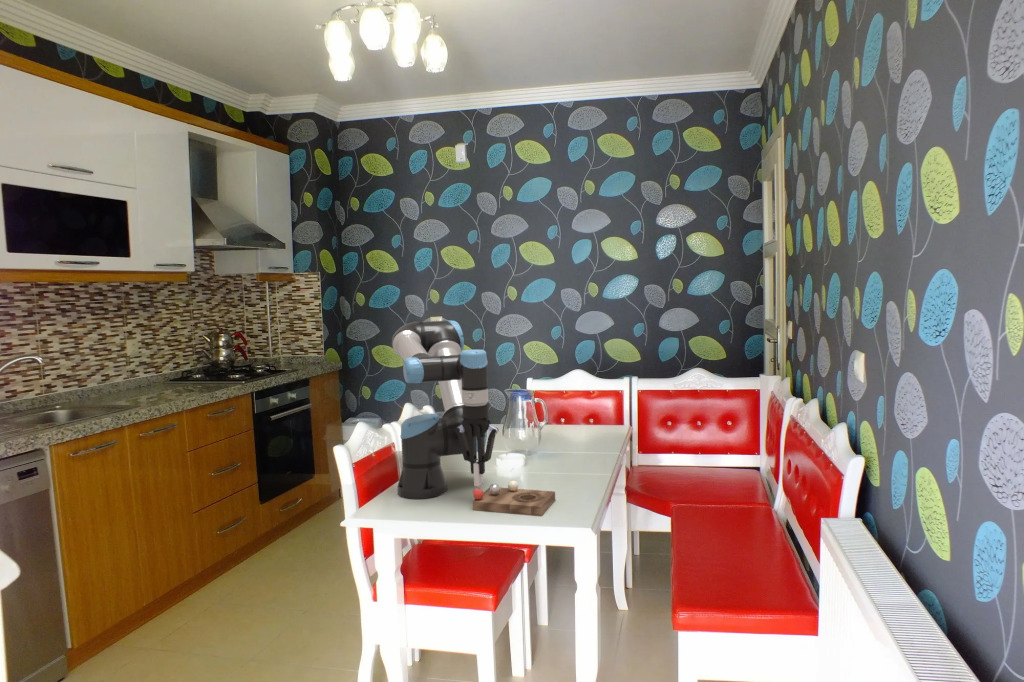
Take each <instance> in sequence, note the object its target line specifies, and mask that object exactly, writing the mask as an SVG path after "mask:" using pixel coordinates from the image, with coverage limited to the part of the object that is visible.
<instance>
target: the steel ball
mask: <svg viewBox="0 0 1024 682" xmlns="http://www.w3.org/2000/svg"><path fill="white" fill-rule="evenodd" d="M488 488H489V492H490V493H491V494H492V495H497V494H498V493H499V492H500V488H501V487H500V486H499V484H497V483H491V485H489V487H488Z"/></svg>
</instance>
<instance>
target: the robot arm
mask: <svg viewBox="0 0 1024 682" xmlns="http://www.w3.org/2000/svg"><path fill="white" fill-rule="evenodd" d="M464 339H465V338H464V333H463V330H462V328H461V325H460V324H459V322H457V321H456V320H448V319H443V320H433V321H432V320H430V321H427V320H426V321H412V322H409V323H406V324H403V325H402V326H400V327H398V329H397V330H396V331H395V333H394V334H393V335H392V339H391V347H392V349H393V351H394V353H395V354H396V355H397V356H398V357H400V358H401V359H402V360H403V364H402V367H403V369H402V372H403V377H404V381H405V382H406V383H407V384H423V383H436V382H438V387H439V390H440V395H441V399H442V404H443V409H444V412H443V414H442V415H441V417H440V416H439V414H437V413H423V414H419V415H413V416H411V417H408V418H407V419H404V420H403V422H402V423H401V424H400V439H401V440H400V441H401V461H402V462H401V463H402V469H401V473H400V476H399V479H398V484H397V494H398V495H399V496H400V497H402V498H406V499H414V500H415V499H416V500H417V499H430V498H435V497H438V496H442V495H443V494H445V493H447V491H448V482H447V479H446V477H445V474H444V471H443V468H442V466H441V465H442V464H441V457H446V456H455V455H456V456H457V455H462V457H463V460H464V461H467V462H469V464H470V473H471V475H473V485H474V487H480V486H482V485H483V484H484V483H483V474H485V472H486V464H485V463H486V462H489V461H490V460H491V458H492V453H493V449H494V444H495V440H496V439H495V438H496V435H497V434H498V432H499V428H498V427H494V426H493V425H491V424H492V423H491V421H490V410H489V408H490V407H489V404H488V403H489V384H488V383H489V382H488V381H489V379H488V362H489V361H488V357H487V351H486V350H484V349H465V350H464V346H465V342H464V341H465V340H464Z"/></svg>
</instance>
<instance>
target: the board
mask: <svg viewBox="0 0 1024 682" xmlns="http://www.w3.org/2000/svg"><path fill="white" fill-rule="evenodd" d="M483 493H484V496H483V498H482V499H480V500H477V499H475V498H474V500H473V501H472V511H478V512H488V513H489V512H491V513H500V514H501V513H503V514H514V515H515V514H516V515H525V516H526V515H527V516H537V517H538V516H540V517H542V516H543V515H544V514H545V513H546V512H547V510H548V509H549V508H550V507H551V506H552V505H553V503H554V502H555V501H556V491H553V490H538V489H524V488H523V489H522V488H518V489H517V490H516V491H511V490H509V488H508V487H500V492H499V493H498V494H497V495H492V494H491V493H490V492H489V487H488V488H487V489H486V490H484V491H483Z"/></svg>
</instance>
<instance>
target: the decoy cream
mask: <svg viewBox="0 0 1024 682" xmlns="http://www.w3.org/2000/svg"><path fill="white" fill-rule="evenodd" d="M507 488H509V490H511V491H516V490H517V489H519V483H518V482H517V481H516V480H511V481H509V482H508V484H507Z"/></svg>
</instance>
